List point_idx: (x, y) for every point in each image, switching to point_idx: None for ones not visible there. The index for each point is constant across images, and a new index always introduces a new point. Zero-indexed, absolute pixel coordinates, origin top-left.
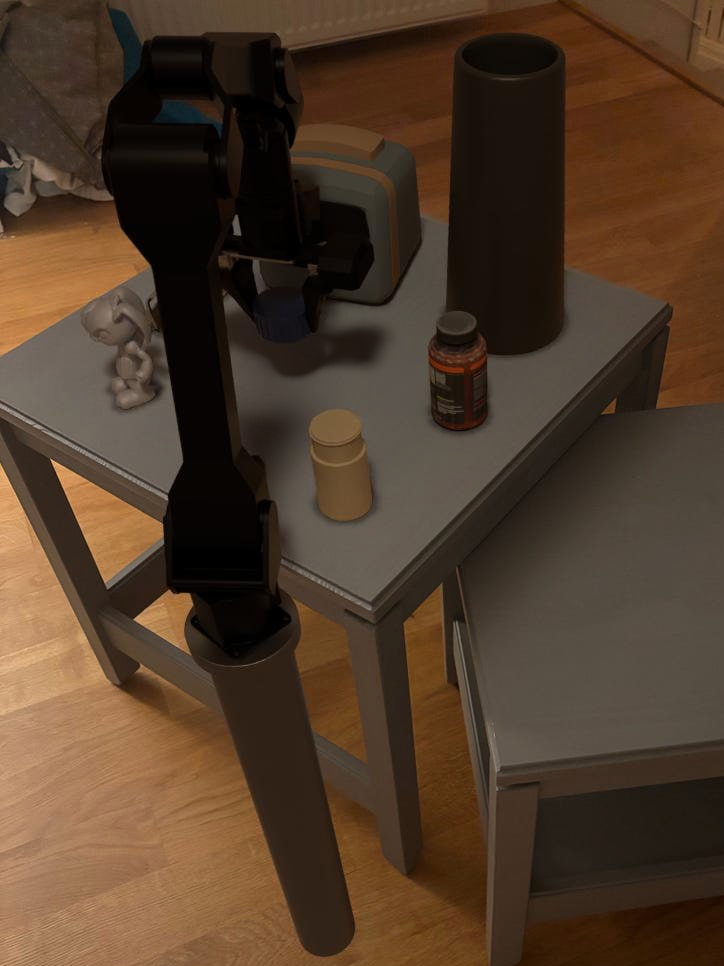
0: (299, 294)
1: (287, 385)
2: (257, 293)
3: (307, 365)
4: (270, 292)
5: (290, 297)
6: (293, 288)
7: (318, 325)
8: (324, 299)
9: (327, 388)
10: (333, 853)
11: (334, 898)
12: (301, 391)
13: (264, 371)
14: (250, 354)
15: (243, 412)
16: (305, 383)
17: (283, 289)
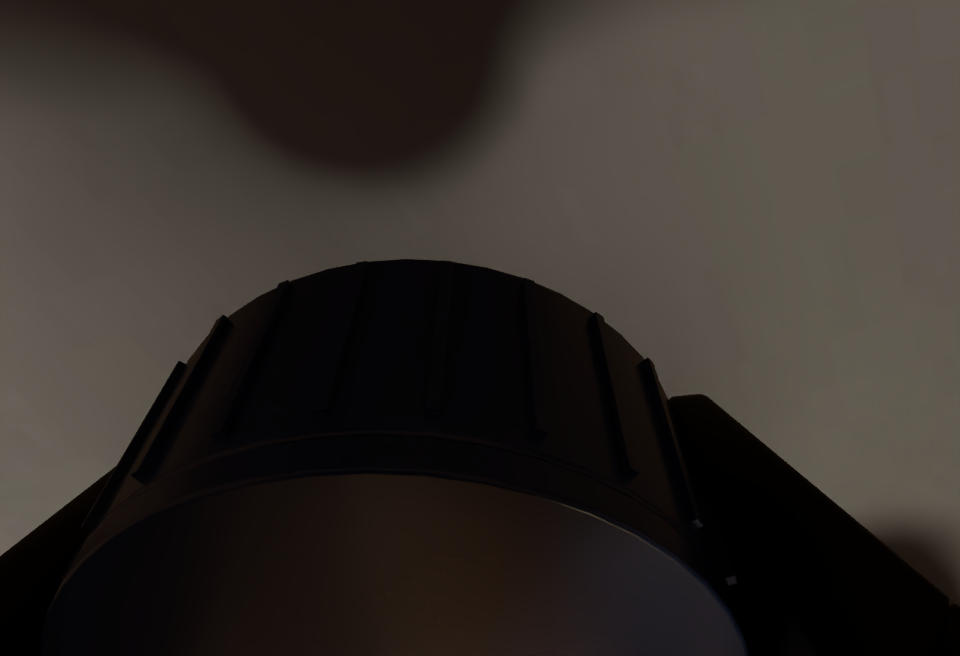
0: (534, 579)
1: (421, 245)
2: (8, 647)
3: (436, 41)
4: (149, 639)
5: (448, 640)
6: (375, 501)
7: (715, 403)
8: (947, 607)
9: (640, 198)
10: None
11: None
12: (514, 263)
13: (236, 183)
14: (47, 64)
15: None
16: (504, 200)
17: (253, 551)
